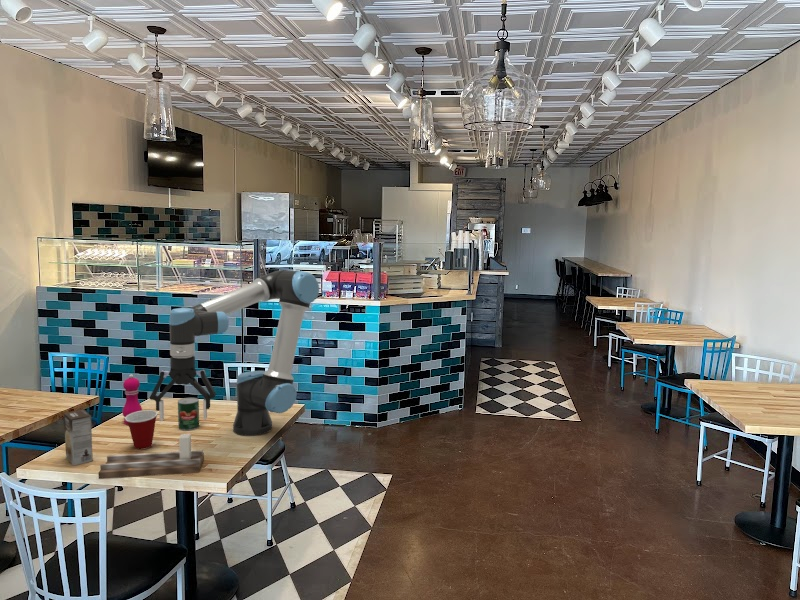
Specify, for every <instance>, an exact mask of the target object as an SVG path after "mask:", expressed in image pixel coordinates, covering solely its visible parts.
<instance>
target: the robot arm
mask: <svg viewBox="0 0 800 600" xmlns="http://www.w3.org/2000/svg"><path fill="white" fill-rule="evenodd" d="M319 294H320V285H319V281H318V280H317V278H316V276H314V274H313V273H310V272H308V271H302V270H291V269H290V270H289V269H279V270H275V271H273V272H270V273H267V274H264V275H262V276H259V277H257V278H255V279H254V280H253V282H251V283H249V284H247V285H244V286H241V287H239V288H237V289H234V290H231V291H229V292H226V293H224V294H221V295H219V296H217V297H214V298H211V299H209V300H207V301H205V302H202V303H199V304H196V305H193V306H191V307H186V306H185V307H184V306H183V307H178V308H173V309H171V310H170V312H169V321H168V325H169V345H170V346H169V355H170V356H171V357H170V359H169V361H170V365H169V367H170V370H169V371H168V370H165V369H162V370H161V371H160V372H159V377H158V381H157V383H156V384H155V385H154V388H153V390H152V392H151V394H150V395H149V400H150V401H154V402H155V411H156V412H158V411H159V422H163V420H165V418H164V417H165V416H164V415H165V413H164V411H165V410H164V408H165V407H164V399H162V398H163V397H164V396H165V395H166V394H167V393H168V391H169V390H170V389H171V388H172V387H173V386H174V384H176V385H189V384H191V386H192V387H194V388H195V390H196V391H197V392H198V393H199V394H200V395H201V396H202V397H203V401H202V402H203V403H202V404H203V407H202V408H203V409H202V410H203V412H202V414H203V420H207V418H208V410H209V409H211V400H212V399H214V398H215V397H216V395H217V393H216V391H215V389H214V388H213V385H212V384H211V382H210V380H209V378H208V377H207V373H206V369H204V368H203V369H201V370H197V369H196V357H195V354H196V346H195V345H196V343H195V342H196V337H200V336H209V335H218V334H223V333H225V332H226V331H228V329H229V325H230V324H229V323H230V322H229V317H228V315H230V314H233V313H235V312H239V311H240V310H242V309H245V308H247V307H249V306H252V305H254V304H257V303H259V302H264V303H265V302H268V301H270V300H278V299H279V300H278V304H279V306H281V310H280V315H279V320H278V323H277V324H278V325H277V328H276V333H275V338H274V342H273V347H272V352H271V356H270V360H269V365H268V369H267V370H251V371H245V372H242V373H240V374H238V375H237V378H236V401H237V402H236V403H237V405H236V406H237V407H236V408H237V409H236V410H237V412H236V414H235V418H234V421H233V423H232V431H233V433H234V434H236V435H240V436H259V435H263V434H267V433H269V432H271V431H272V430H273V420H272V418H271V415H270V413H275V414H284V413H286V412H288V411H289V410H290V409H291V408H292V407H293V405H294V404H295V402H296V400H297V394H298V393H297V389H296V387H295V386H294V385H293V384H294V376H293V375H292V369H293V365H294V361H295V355H296V352H297V346H298V342H299V337H300V334H301V327H302V323H303V318H304V314H305V312H306V311H308V310H309V309H310V306H311V305H310V304H311V303H313V302H315V300H317V298H318V296H319ZM197 375H198V377H200V378H201V381H202V383H203V384H204V386H205V388H206V389H205V388H204V387H203V386H202V385H201V384H200V383H199V381H198V380H197V379H196V378H195V377H196V376H197ZM168 376H169V377H170V379H171V381H170V382H169V383H168V384H167V385H166V386H165V387H164V389H163V390H162V391H161V392H160V393H159V394H158V392H159V390H160V388H161V386H162V384H163V382H164V380H165V379H166V378H167V377H168ZM157 394H158V395H157Z"/></svg>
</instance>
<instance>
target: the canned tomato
mask: <svg viewBox="0 0 800 600" xmlns="http://www.w3.org/2000/svg"><path fill="white" fill-rule="evenodd" d="M199 401H200V400H199V398H197V397H184V398H180V399H179V400H177V415H178V416H177V420H178V430H180V431H184V432H185V431H193V430H197V429H199V428H200V402H199Z"/></svg>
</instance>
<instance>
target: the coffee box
mask: <svg viewBox="0 0 800 600" xmlns="http://www.w3.org/2000/svg"><path fill="white" fill-rule="evenodd" d="M63 424H64V425H63V426H64V441H65V442H64V443H65V445H64V446H65V458H66V459H67V460H68V461H69V463H70V464H71V465H72V466H77V465H82V464H85V463H90V462H93V460H94V458H93V435H92V434H93V433H92V432H93V431H92V430H93V429H92V415H91V414H89V412H88V411H86V410H85V409H84V408H82V409H78V410H72V411H67V412H63Z"/></svg>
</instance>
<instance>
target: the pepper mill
mask: <svg viewBox="0 0 800 600" xmlns="http://www.w3.org/2000/svg"><path fill="white" fill-rule="evenodd" d="M122 387H123V389H124V395H126V396H125V404H124V406H123V408H122V416H123V417H124V420H123V422H124V424H125V425H128V423H127V421H126V420H125V417H126V416H127V415H129V414H131V413H134V412H137V411H143V408H142V405H141V404H140V401H139V398H138V394H139V387H140V380H139V379H138V378H136V377H134V375H133V374H132V373H131V374H129V375H128V378H126V379H125V380H124V381H123V383H122ZM128 426H129V425H128Z"/></svg>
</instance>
